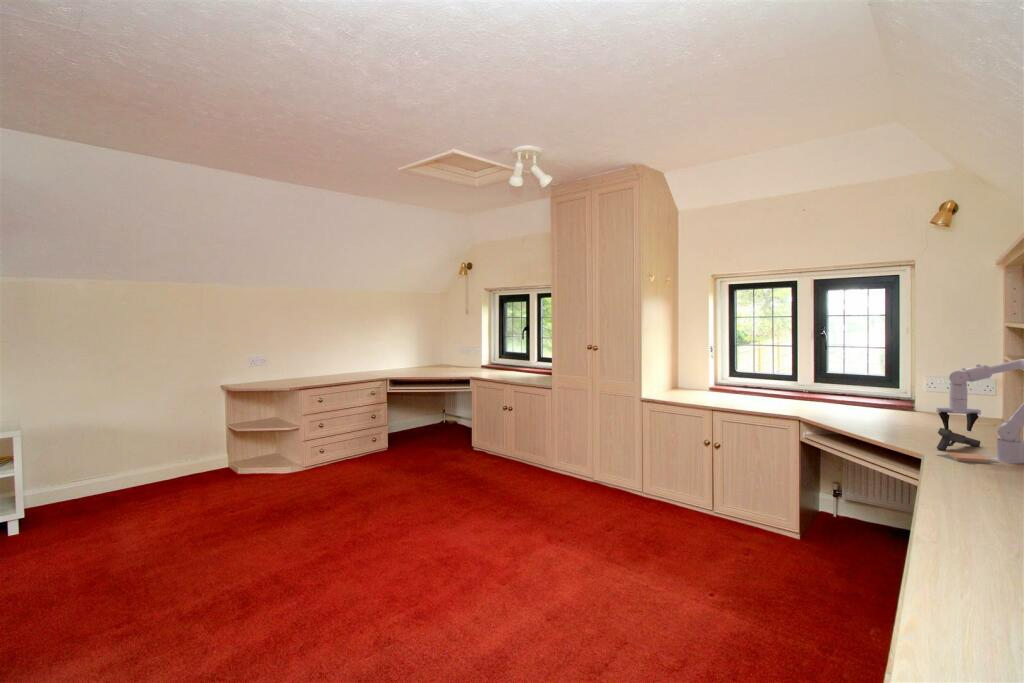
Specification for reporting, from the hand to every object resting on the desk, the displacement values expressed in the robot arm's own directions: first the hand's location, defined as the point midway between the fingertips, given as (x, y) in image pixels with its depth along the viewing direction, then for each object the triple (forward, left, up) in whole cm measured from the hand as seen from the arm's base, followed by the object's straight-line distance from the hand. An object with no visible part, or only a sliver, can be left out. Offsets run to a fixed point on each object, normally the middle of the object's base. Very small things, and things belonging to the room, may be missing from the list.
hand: (957, 430), depth 217 cm
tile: (+3, +6, -9) cm, 11 cm away
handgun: (-10, -8, -11) cm, 16 cm away
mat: (+4, +8, -10) cm, 14 cm away
